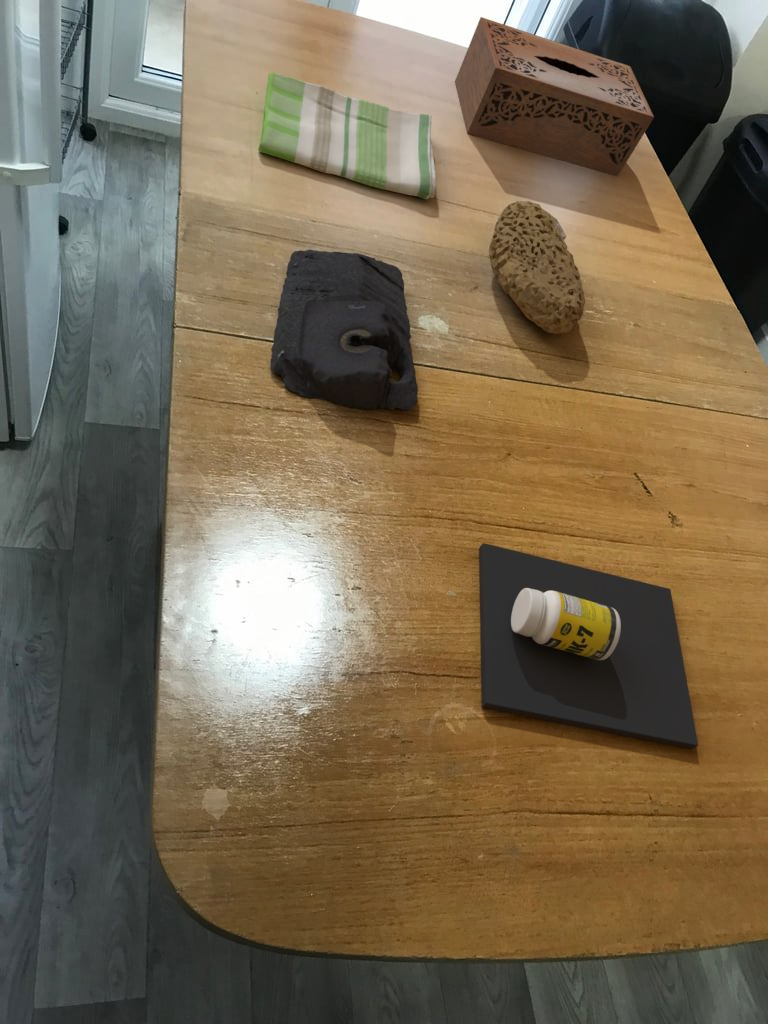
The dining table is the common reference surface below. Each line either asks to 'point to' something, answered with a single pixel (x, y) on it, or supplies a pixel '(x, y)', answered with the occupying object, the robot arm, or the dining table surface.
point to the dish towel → (348, 137)
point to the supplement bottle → (566, 623)
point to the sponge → (537, 267)
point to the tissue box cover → (550, 98)
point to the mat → (578, 679)
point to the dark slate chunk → (344, 331)
